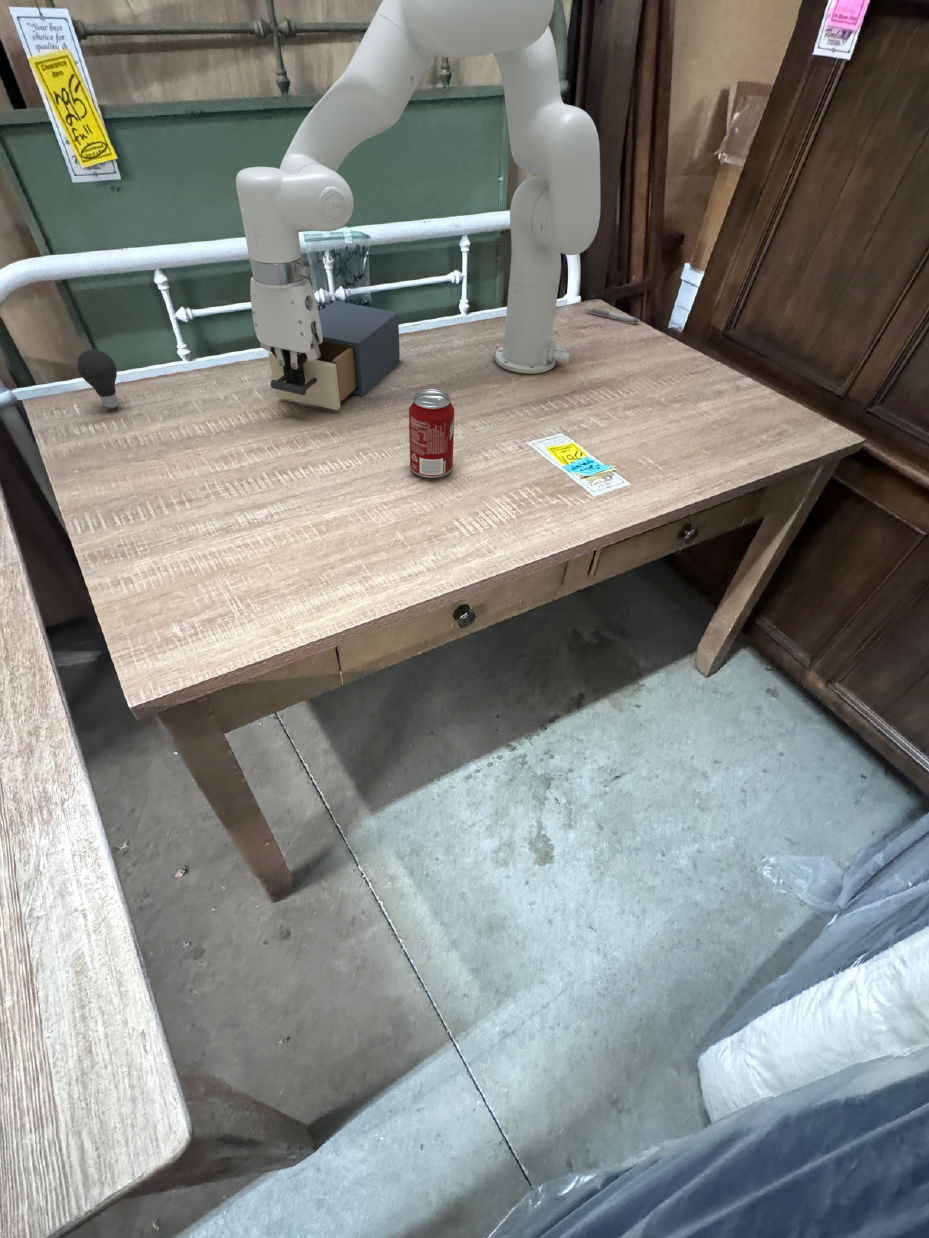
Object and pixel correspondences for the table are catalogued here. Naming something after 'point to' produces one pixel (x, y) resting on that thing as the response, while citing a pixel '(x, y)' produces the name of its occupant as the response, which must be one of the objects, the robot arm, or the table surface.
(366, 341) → the cabinet
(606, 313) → the pen
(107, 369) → the light bulb
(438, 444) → the soda can
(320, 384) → the drawer
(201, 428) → the table surface
